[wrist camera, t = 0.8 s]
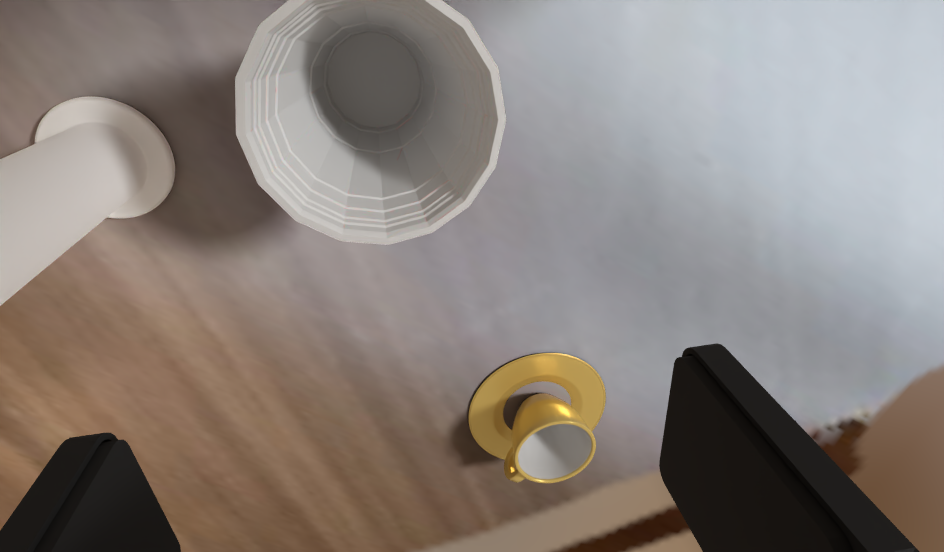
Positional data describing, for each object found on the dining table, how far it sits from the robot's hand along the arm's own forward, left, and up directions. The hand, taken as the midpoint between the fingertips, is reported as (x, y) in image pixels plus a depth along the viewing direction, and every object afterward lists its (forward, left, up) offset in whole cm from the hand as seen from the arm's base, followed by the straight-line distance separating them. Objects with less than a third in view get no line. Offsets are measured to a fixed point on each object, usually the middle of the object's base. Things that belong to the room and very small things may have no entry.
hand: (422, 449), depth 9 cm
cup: (+16, +21, -28) cm, 38 cm away
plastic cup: (-2, -2, -27) cm, 27 cm away
